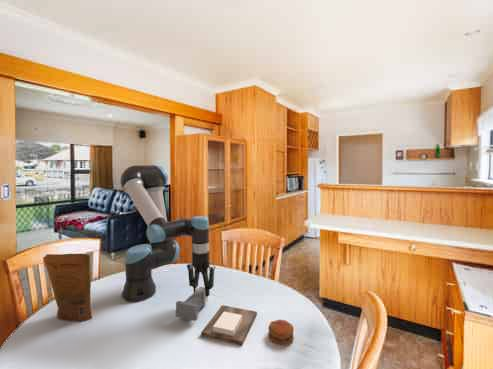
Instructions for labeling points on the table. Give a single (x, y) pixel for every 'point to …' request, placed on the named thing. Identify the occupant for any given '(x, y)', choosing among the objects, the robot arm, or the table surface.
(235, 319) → the tile
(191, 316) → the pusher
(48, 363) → the table surface
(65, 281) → the pancake mix bag
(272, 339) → the burger
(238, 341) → the walnut board
